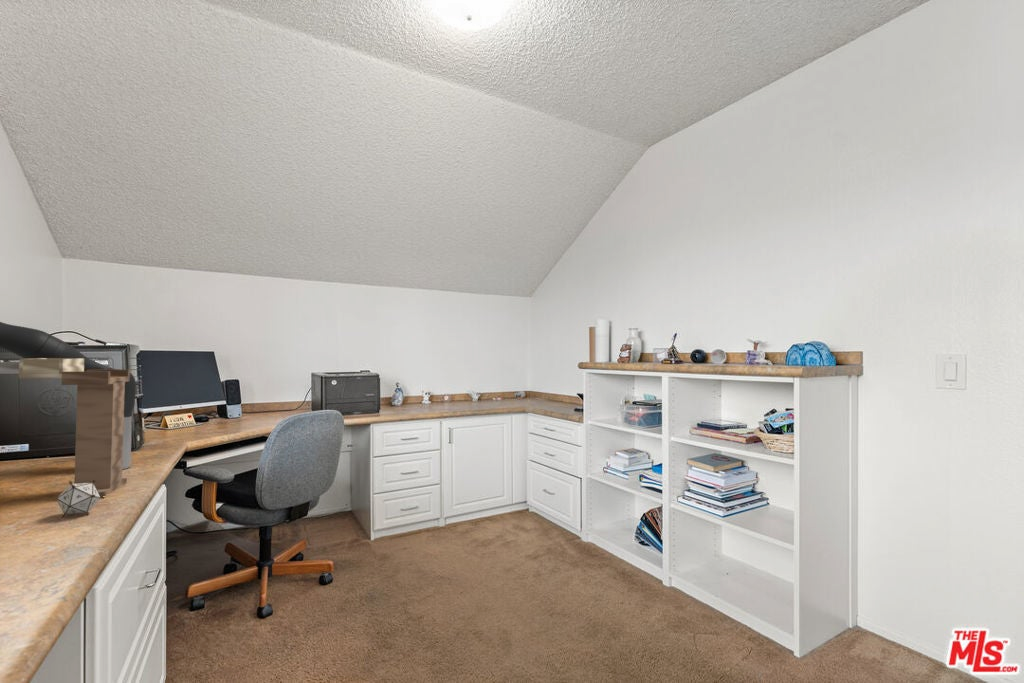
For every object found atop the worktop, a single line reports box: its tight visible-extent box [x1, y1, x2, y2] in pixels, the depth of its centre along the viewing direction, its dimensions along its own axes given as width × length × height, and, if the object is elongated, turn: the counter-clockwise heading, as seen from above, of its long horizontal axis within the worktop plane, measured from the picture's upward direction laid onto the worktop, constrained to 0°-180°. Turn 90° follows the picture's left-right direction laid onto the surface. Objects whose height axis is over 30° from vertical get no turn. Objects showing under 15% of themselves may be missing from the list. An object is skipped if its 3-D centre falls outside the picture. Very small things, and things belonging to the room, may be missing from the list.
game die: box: [51, 479, 106, 518], centre depth 117 cm, size 9×8×10 cm
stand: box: [57, 369, 131, 497], centre depth 136 cm, size 15×10×34 cm, turn 21°
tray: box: [0, 358, 84, 379], centre depth 131 cm, size 12×18×5 cm
